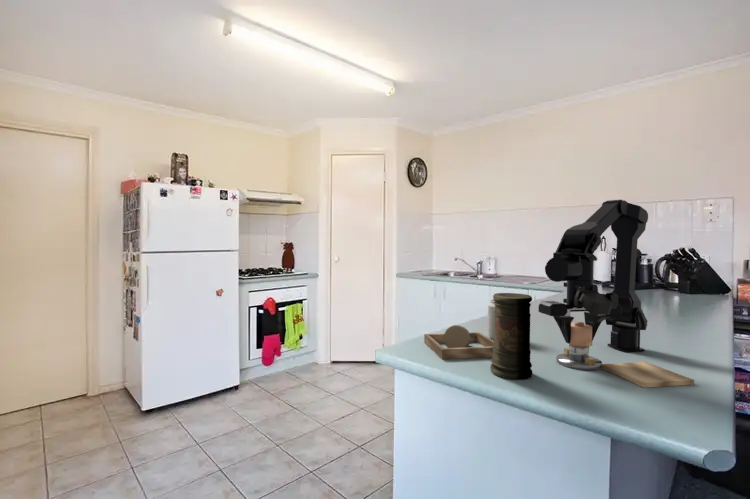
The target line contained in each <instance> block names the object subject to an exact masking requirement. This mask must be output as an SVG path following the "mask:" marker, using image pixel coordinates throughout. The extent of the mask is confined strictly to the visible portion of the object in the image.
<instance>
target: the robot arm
mask: <svg viewBox="0 0 750 499" xmlns="http://www.w3.org/2000/svg"><path fill="white" fill-rule="evenodd" d="M648 220H649V213H648V212H647V209H645V208H643V207H642V206H640V205H638V204H634V203H630V202H628V201H626V200H625V199H611V200H606V201H603V202H602V203H601V206H600V207H599V208H598V209H597V210H596V211H595V212H594V213H592V214H591V215H590V216H589V217H588V219H586V220H585V222H582V223H580V224H577V225H573V226H571V227H569V228H568V229H566V230H565V231H564V233H563V234H562V237H561V239H560V242H559V244H558V246H557V247H556V250H555V252H553V254H552V255H553V256H552V258H550V259H549V260H547V262H546V264H545V266H544V272H545V275H546V276H547V278H548V279H549V280H551V281H552V282H556V283H560V282H563V287H564V288H566V298H563V299H562V302H559V301H555V300H542V301H540V303H538V304H539V305H538V313H540V314H544V315H546V316H549V317H553V319H554V321H555V323H556V324H557V326H558V328H559V330H560V332H561V333H560V334H561V335H562V336H563V339H564V342H565V343H566V344H568V343H570V339H571V323H572V322H573V321H574V320H575V317H574V316H571V313H572V312H573V313H574V312H575V313H576V312H577V313H578V312H583V317H584V324H586V325H590V326H592V342H594V338H595V336H596V335H597V332H598V330H599V327H600V325H601V324H602V323H603V321H605V324H606V325H607V326H611V330H610V343H607V346H608V347H611V348H614V349H616V350H619V351H621V352H643V351H645V350H646V349H645V348H643V347H640V346H641V331H647V327H648V319H647V317H646V316H645V313H644V311H643V309H642V302H641V300H640V298H639V297H638V295H637V292H636V291H635V288H636V287H635V286H636V272H637V270H636V269H637V255H638V253H637V252H638V240H639V238H640V237H641V236H642V235H643V234H644V232H645V231H646V227H647V223H648ZM609 228H610V230H611V231H612V232H613V234H614V236H615V237H616V250H615V263H614V264H615V265H614V266H615V267H614V285H613V286H614V287H613V290H612V291H611V292H606V293H600V292H599V286H598V284H594V263H595V261H598V258H597V256H596V255H595V254H594V253H595V252H596V251H597V249H598V248H599V247H600V246H601V244H602V242H603V241H602V237H601V236H602V235H603V234H604V233H605V231H607V229H609Z"/></svg>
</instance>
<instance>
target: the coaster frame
mask: <svg viewBox="0 0 750 499" xmlns="http://www.w3.org/2000/svg"><path fill="white" fill-rule="evenodd" d="M469 333H470V337H471V339H470V343H472V342H475V343H476V342H477V343H479V344H480V345H481V346H470V347H469V346H468V347H463V348H448V347H447V348H446V347H444V346H442V344H445V342H444V334H445V332H444V333H443V332H442V333H424V338H423V340H424V344H425V345H426V346H427V347H428V348H429V349H430V350H432V351H433V352H434V354H436V355H437V356H438V357H439V358H440V359H441V360H454V359H476V358H493V346H494V340H492V339H491V338H490V337H489V336H486V335H484V334H482V333H481V332H478V331H475V332H469Z"/></svg>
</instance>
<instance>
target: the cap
mask: <svg viewBox="0 0 750 499" xmlns="http://www.w3.org/2000/svg"><path fill="white" fill-rule="evenodd" d="M567 344H568V345H569V344H570V345H574V346H582V347H588V346H589V347H593V341H592V326H590V325H586V324H585V322H583V321H574V322H573V323H572V322H571V339H570V343H567Z"/></svg>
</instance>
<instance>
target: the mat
mask: <svg viewBox="0 0 750 499" xmlns="http://www.w3.org/2000/svg"><path fill="white" fill-rule="evenodd" d="M601 369H602V370H604V371H606V370H607V371H606V372H608V371H609V373H611V374H613V375H615V376H617V375H618V376H617V377H619V376H620V377H619V378H623V379H624V380H626V381H629V382H631V383H632V384H635V385H637V386H639V387H642V388H644V389H645V388H657V387H658V388H661V387H674V386H691V385H692V386H693V385H695V379H693V378H690V377H688V376H685V375H683V374H679V373H677V372H674V371H671V370H669V369H666V368H663V367H661V366H658V365H655V364H653V363H650V362H647V361H641V362H639V361H638V362H619V363H618V362H617V363H615V362H614V363H602V364H601Z"/></svg>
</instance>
